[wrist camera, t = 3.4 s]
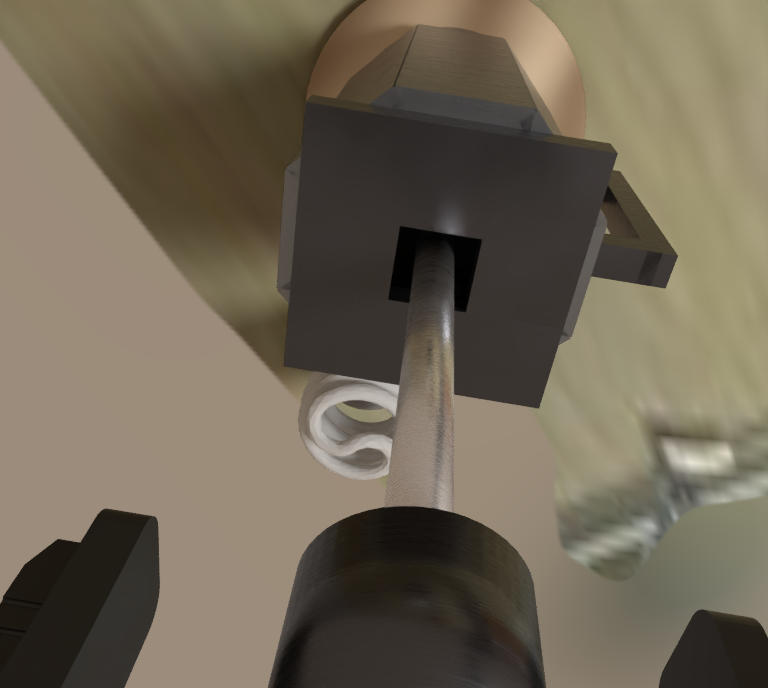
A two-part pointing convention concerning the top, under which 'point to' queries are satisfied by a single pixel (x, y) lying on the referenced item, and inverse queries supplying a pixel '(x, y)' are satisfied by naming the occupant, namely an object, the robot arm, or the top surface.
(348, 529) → the plunger
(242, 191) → the top surface
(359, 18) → the disc
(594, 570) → the top surface
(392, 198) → the carafe
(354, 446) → the light bulb
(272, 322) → the top surface
